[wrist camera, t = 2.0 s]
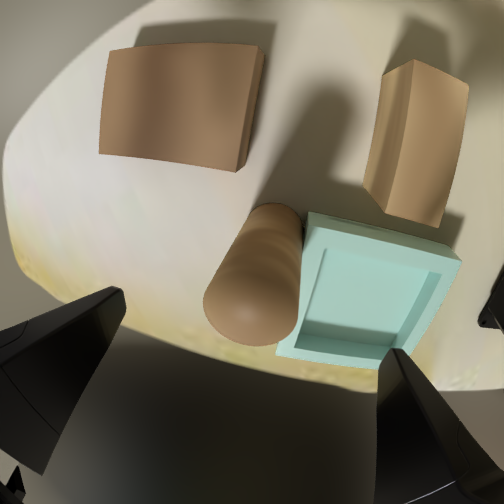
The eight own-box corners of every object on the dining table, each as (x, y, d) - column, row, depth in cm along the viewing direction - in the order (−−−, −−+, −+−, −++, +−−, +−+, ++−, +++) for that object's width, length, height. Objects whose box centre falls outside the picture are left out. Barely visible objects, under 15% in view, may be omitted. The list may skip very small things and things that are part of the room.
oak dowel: (308, 209, 14) (308, 283, 8) (296, 261, 16) (287, 353, 9) (248, 197, 14) (204, 261, 8) (242, 250, 16) (202, 334, 10)
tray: (447, 245, 13) (461, 261, 11) (393, 351, 17) (398, 371, 16) (308, 211, 14) (308, 224, 12) (278, 333, 18) (275, 354, 17)
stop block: (425, 91, 10) (468, 85, 6) (404, 197, 13) (438, 228, 9) (382, 75, 10) (413, 58, 6) (362, 185, 13) (384, 213, 9)
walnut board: (265, 57, 11) (257, 45, 9) (246, 164, 14) (235, 172, 12) (133, 56, 12) (109, 50, 10) (122, 147, 15) (98, 153, 13)
